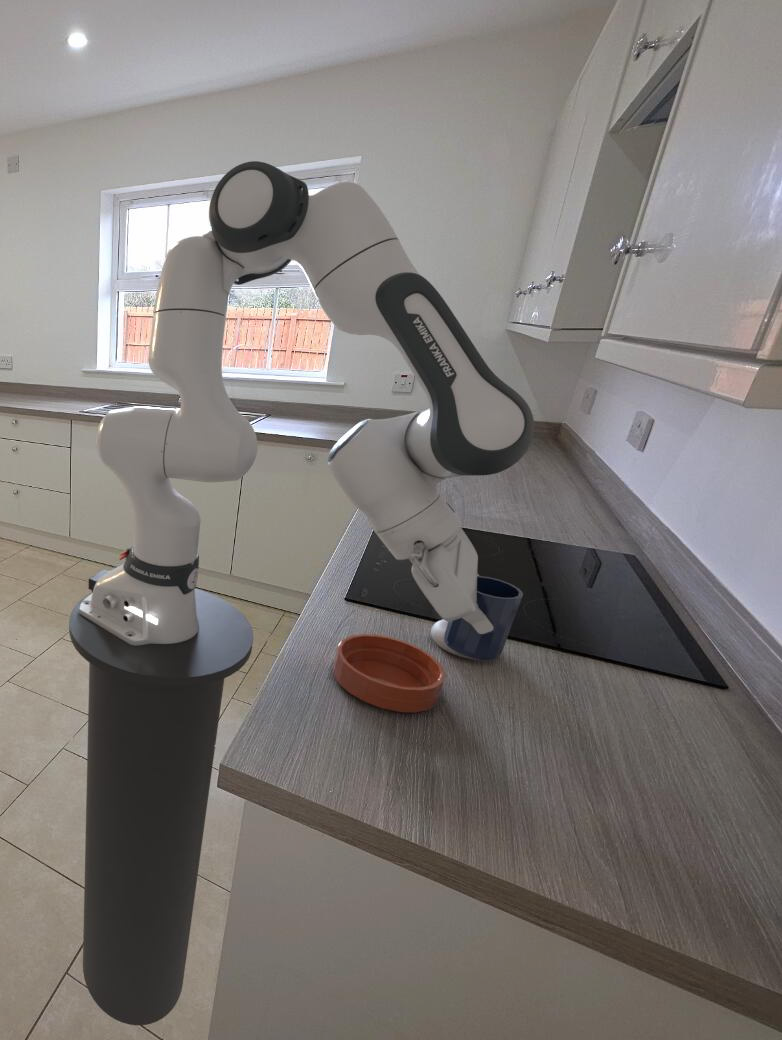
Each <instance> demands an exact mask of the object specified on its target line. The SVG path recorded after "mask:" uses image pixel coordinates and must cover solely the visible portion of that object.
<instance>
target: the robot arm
mask: <svg viewBox="0 0 782 1040" xmlns="http://www.w3.org/2000/svg"><path fill="white" fill-rule="evenodd" d="M212 192H213V193H212V195H211V199H210V201H209V207H208V224H209V229H210V230H209V231H208V232H207V233H204V234H202V235H201V236H200V235H198V236H197V235H195V236H188V237H186V238H183V239H181V240H178V241H176V242H175V243H174V244H173V245H171V247H170V248H169V250H168V251H167V253H166V254H165V259H164V261H163V265H162V267H161V272H160V276H159V279H158V284H157V288H156V294H155V300H154V307H153V313H152V322H151V331H150V338H149V348H148V357H147V361H148V366H149V368H150V370H151V372H152V374H153V375H154V376H155V377H156V378H157V379H159V380H160V381H161V382H163V383H164V384H166V385H168V387H171V388H173V389H174V390H175V391H177V392H178V395H179V399H180V407H179V408H166V407H153V406H139V405H136V406H127V407H121V408H115V409H110V410H109V411H108V412H107V413H106V414H105V415H104V416H103V417H102V419H101V421H100V422H99V423H98V426H97V429H96V432H95V448H96V452H97V454H98V456H99V458H100V460H101V462H102V463H103V465H105V467H107V468H108V469H109V470H110V471H112V472H113V474H114V475H115V476H116V477H117V478H118V480H119V482H120V483H121V484H122V486H123V487H124V489H125V491H126V493H127V496H128V499H129V502H130V505H131V510H132V522H133V523H132V524H133V542H132V544H133V545H131V546H129V547H127V548H125V550H124V551H123V552H121V553H119V556H120V557H119V561H122V560H124V559H125V560H124V563H122V564H120V565H119V566H117V567H115V568H112V569H111V570H107V569H102V570H100V571H98V572H97V573H96V574H94V575H92V576H90V577H89V578H88V587H87V588H88V590H91V593H92V594H91V593H90V594H91V595H89V594H88V595H89V596H88V597H87V598H85V599H84V600H83V602H82V603H81V605H80V609H79V613H80V614H81V615H83V616H84V617H86V618H88V619H89V620H91V621H93V622H94V623H96V624H97V625H99V626H101V627H102V628H104V629H106V630H107V631H109V632H110V633H112V634H114V635H115V636H117V637H119V638H120V639H122V640H124V641H125V642H127V643H128V644H130V645H134V646H138V645H145V644H174V643H179V642H183V641H186V640H188V639H190V638H192V637H193V636H195V635H196V633H197V632H198V630H199V623H198V619H197V613H196V604H195V588H196V587H197V583H198V578H199V567H200V566H199V565H200V555H199V553H198V549H199V539H200V529H201V516H200V513H199V511H198V509H197V507H196V506H195V504H194V503H192V501H191V500H189V499H188V498H186V497H185V496H184V495H182V494H180V493H179V492H178V491H177V490H176V489H175V487H174V486H173V485H172V483H171V480H170V479H176V480H183V481H184V480H185V481H193V482H202V483H225V482H234V481H239V480H240V479H242V478H243V477H244V476H246V474H247V473H248V472H249V471H250V469H251V468H252V466H253V464H254V463H255V461H256V458H257V454H258V438H257V433H256V431H255V429H254V427H253V425H252V424H251V423H250V421H249V420H248V419H247V418H246V417H245V416H243V414H242V413H241V412H239V411H238V409H237V408H236V407H235V405H234V404H233V403H232V401H231V398H230V397H229V395H228V392H227V389H226V387H225V382H224V378H223V367H222V363H223V348H224V347H223V346H224V337H225V329H226V322H227V321H226V320H227V313H228V305H229V300H230V294H231V290H232V287H233V285H237V286H241V285H244V284H246V283H250V282H252V281H256V280H259V279H264V278H268V277H271V276H273V275H275V274H277V273H279V272H281V271H282V270H284V269H285V268H287V266H288V265H289V264H290V263H291V262H295V264H297V265H298V266H299V267H300V268H301V269H302V272H303V273H304V274H305V276H306V278H307V280H308V283H309V284H310V287H311V289H312V291H313V294H314V295H315V297H316V299H317V301H318V303H319V306H320V307H321V310H322V311H323V312H324V314H325V315H326V317H327V318H328V319H329V320H330V322H331V323H332V324H333V326H335V328H336V329H337V330H339V331H341V332H343V333H347V334H350V335H355V336H356V335H357V336H369V335H370V336H377V337H380V338H383V339H385V340H387V341H388V342H390V343H391V344H392V345H393V346H394V347H395V348H396V349H397V350H398V352H399V353H400V354H401V356H402V358H403V359H404V361H405V363H406V364H407V366H408V368H409V370H410V371H411V373H412V374H413V376H414V378H415V379H416V381H417V383H418V385H419V386H420V388H421V389H422V391H423V392H424V394H425V396H426V398H427V400H428V404H429V407H427V408H424V409H421V410H418V411H415V412H411V413H408V414H404V415H398V416H395V417H389V418H378V419H373V418H366V419H364V420H361V421H359V422H358V423H357V424H355V425H354V426H353V427H351V428H350V429H349V430H348V431H347V432H346V433H345V434H344V435H342V436H341V437H340V439H339V440H337V442H336V443H334V445H333V446H332V448H331V449H330V450H329V453H328V457H327V465H328V468H329V469H330V471H331V474H332V476H333V477H334V479H335V481H336V482H337V484H338V485H339V487H340V488H341V490H342V491H343V493H344V494H345V496H346V497H347V498H348V499H349V501H350V502H351V504H353V506H354V507H355V508H356V509H358V510H359V511H360V512H362V513H363V514H364V515H365V516H366V518H367V519H368V521H369V523H370V526H371V528H372V530H373V532H374V533H375V535H377V537H378V538H379V540H380V541H381V542H382V544H383V545H384V546H385V547H386V548H387V550H388V552H390V553H391V556H393V557H394V559H396V560H397V561H404V560H409V561H410V562H411V564H412V566H411V568H410V571H411V575H412V578H413V579H414V581H415V583H416V584H417V586H418V588H419V590H420V591H421V592H422V593H423V595H424V596H425V598H426V599H427V601H428V602H429V604H430V605H431V606H432V607H433V609H434V610H435V612H436V613H437V614H438V616H439V617H440V618H441V619H442V620H443V619H444V620H446V621H448V622H451V621H454V620H457V619H460V618H463V619H464V620H466V621H467V622H468V623H470V624H471V625H472V626H473V627H474V629H475V630H476V631H477V632H478V633H479V634H485V633H488V632H490V631H492V630H493V622H492V620H490V618H489V617H488V616H487V614H486V613H485V614H484V613H483V612H482V611H481V610H480V609H479V608H478V604H477V603H476V600H477V576H480V575H479V573H478V570H479V569H478V566H479V556H478V553H477V550H476V548H475V547H474V544H473V543H472V542H471V540H470V539H469V537H468V535H467V534H466V532H465V530H464V529H463V528H462V526H463V521H461V519H460V518H459V517H458V516H457V515H456V511H455V510H454V508H453V507H452V505H451V504H450V503H449V502H448V501H447V500H445V499H444V498H443V497H442V495H441V494H440V493H439V492H438V490H437V486H438V485H439V483H441V482H443V481H444V480H445V479H452V478H458V477H463V476H466V477H467V476H471V477H472V476H473V477H474V476H490V475H495V474H499V473H501V472H503V471H504V472H505V471H506V470H508V469H509V468H511V467H512V466H514V465H515V464H517V463H518V462H519V461H520V460H521V459H522V458H523V457H524V455H525V454H526V453H527V452H528V450H529V448H530V446H531V444H532V441H533V439H534V433H535V419H534V414H533V411H532V409H531V407H530V405H529V404H528V402H527V401H526V399H524V397H522V395H520V393H518V392H517V391H516V390H515V389H514V388H512V387H511V386H509V385H508V384H507V383H505V382H504V381H503V380H502V379H500V377H498V376H497V375H496V374H495V373H494V371H492V369H491V368H490V367H489V365H488V364H487V362H486V361H485V360H484V358H483V357H482V355H481V353H480V352H479V351H478V349H477V348H476V346H475V344H474V343H473V341H472V340H471V338H470V336H469V335H468V334H467V332H466V330H465V329H464V328H463V326H462V325H461V323H460V322H459V320H458V318H457V317H456V316H455V314H454V313H453V311H452V310H451V307H450V306H449V305H448V303H447V302H446V301H445V300H444V298H443V296H442V295H441V294H440V293H439V291H438V290H437V288H436V287H435V286H434V285H433V284H432V283H431V282H430V281H429V280H427V278H425V277H424V276H423V275H421V273H419V271H418V269H416V267H415V266H414V264H413V263H412V261H411V260H410V258H409V256H408V255H407V253H406V250H405V249H404V248H403V245H402V244H401V242H400V240H399V237H398V235H397V233H396V232H395V230H394V228H393V227H392V225H391V223H390V222H389V220H388V219H387V217H386V215H385V214H384V212H383V211H382V209H381V208H380V207H379V206H378V204H377V203H376V201H375V200H374V199H373V198H372V197H371V196H370V194H369V193H368V192H367V191H366V190H365V189H364V187H362V186H361V185H360V184H358V183H356V182H352V181H341V182H338V183H337V182H336V183H334V184H331V185H329V186H327V187H325V188H323V189H321V190H320V191H318V192H316V193H315V194H311V195H310V193H309V188H308V185H307V183H306V182H305V181H303V180H301V179H299V178H296V177H295V176H292V175H290V174H288V173H287V172H286V171H283V170H281V169H280V168H278V167H276V166H274V165H272V164H270V163H267V162H264V161H257V160H253V161H251V160H250V161H246V162H243V163H240V164H238V165H236V166H234V167H233V168H231V169H230V170H229V171H228V172H226V174H224V175H223V176H222V177H221V179H220V180H219V182H218V183H217V184H216V186H215V188H214V190H213V191H212Z"/></svg>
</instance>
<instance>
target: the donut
mask: <svg viewBox="0 0 782 1040" xmlns="http://www.w3.org/2000/svg"><path fill="white" fill-rule="evenodd" d="M447 625H448V621H446V620H444V619H443V618H442V619H441V620H438V621H436V622H435V623H434V624H433V625H432V627H431V629H430V630H431V631H430V634H431V638H432V640H433V641H434V643H435V644H436V645H437V646H439V647H440V648H441V649H442V650H444V651H446V652H447V653H450V654H452V655H455V656H457V657H460V658H465V659H468V660H474V661H481V660H480V659H475V658H471V657H468V656H465V655H462V654H460V653H458V652H456V651H454V650H452V649H451V648H450V647H448V646H447V645H446V644H445V642H444V635H445V631H446V628H447Z"/></svg>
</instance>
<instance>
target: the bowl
mask: <svg viewBox="0 0 782 1040" xmlns="http://www.w3.org/2000/svg"><path fill="white" fill-rule="evenodd" d="M335 651H336V652H335V655H334V659H333V665H332V673H333V677H334V678H335V680H336V681H337V683H338V684H339V685H340V686H341V687H342V688H343V689H344V690H346V691H347V693H348V694H351V695H353V696H354V697H356V698H358V699H359V700H361V701H362V702H365V703H366V704H370V705H373V706H374V707H376V708H381V709H384V710H389V711H394V712H397V713H419V712H424V711H428V710H430V709H431V708H433V707H435V706H436V705H437V704H438V701H439V697H440V694H441V691H442V688H443V685H444V682H445V679H446V676H447V675H446V673H445V669H444V667H443V665H442V664H441V663H440V661H438V660H437V659H436V657H434V656H433V655H432V654H430V653H428V652H427V651H425V650H424V649H422V648H421V647H418V646H416V645H414V644H411V643H409V642H408V641H404V640H401V639H398V638H395V637H391V636H387V635H386V636H385V635H380V634H371V633H369V634H366V633H361V634H354V635H350V636H348V637H345V638H343V639H342V640H341V641H340V642H339V644H338V645H337V647H336V650H335Z"/></svg>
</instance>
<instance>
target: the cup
mask: <svg viewBox="0 0 782 1040" xmlns="http://www.w3.org/2000/svg"><path fill="white" fill-rule="evenodd" d="M523 596H524V592H523V591H522V590H521V589H520V588H518V587H517V586H515V585H514V584H512V583H509V582H506V581H505V580H501V579H498V578H493V577H490V576H482V575H479V576H477V600H476V603H477V604H478V608H479V609H480V610H481V611H482V612H483V613H484V614H485V613H486V614H487V616H488V617H489V618H490V620H492V622H493V630H492V631H490V632H488V633H485V634H479V633H478V632H477V631H476V630H475V629H474V627H473V626H472V625H471V624H470V623H468V622H467V621H466V620H464V619H463V618H460V619H457V620H454V621H451V622H448V625H447V628H446V631H445V635H444V642H445V644H446V645H447V646H448V647H450V648H451V649H452V650H454V651H456V652H458V653H460V654H462V655H465V656H468V657H471V658H475V659H480V660H479V661H493V660H498V659H499V658H500V657H501V655H502V653H503V651H504V648H505V645H506V642H507V640H508V637H509V634H510V631H511V629H512V626H513V623H514V620H515V618H516V615H517V613H518V610H519V607H520V604H521V602H522V599H523Z"/></svg>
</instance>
